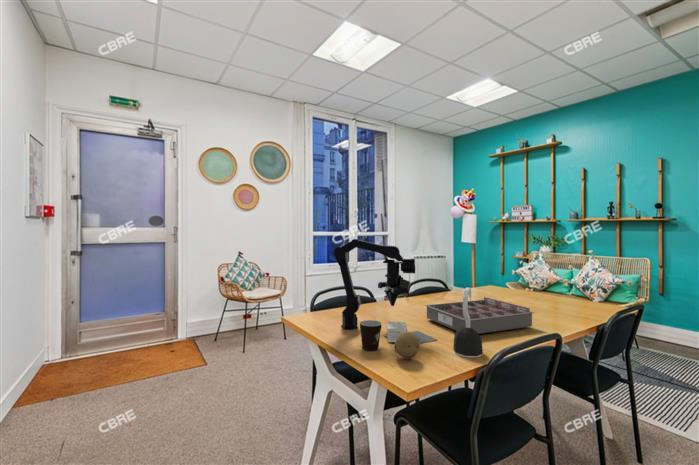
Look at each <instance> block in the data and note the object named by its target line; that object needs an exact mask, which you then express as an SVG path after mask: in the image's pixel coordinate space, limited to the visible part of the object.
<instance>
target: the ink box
mask: <svg viewBox="0 0 699 465" xmlns="http://www.w3.org/2000/svg"><path fill="white" fill-rule="evenodd" d="M403 332H408V327H407V324H406V322H405V321H386V336H387V338H386V339H387V342H388V343H395V342H396V340H397V338H398V337H399V335H400V334H401V333H403Z"/></svg>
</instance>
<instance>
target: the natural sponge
mask: <svg viewBox="0 0 699 465" xmlns="http://www.w3.org/2000/svg"><path fill="white" fill-rule="evenodd" d="M411 332H412V331H407V332H403V333H401V334H400V335H399V337H398V338H397V340H396V342H394V345H393V348H394V351H395V353H397V355H399V356H400V357H401V358H403V359H405V360H410V359H412V358H414V357H415V356H416V355H417V354H418V352H419V351H420V349H421V348H420V347H421V343H419V340H418V338H417V336H416V335H415V334H413V333H411Z"/></svg>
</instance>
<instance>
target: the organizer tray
mask: <svg viewBox="0 0 699 465" xmlns="http://www.w3.org/2000/svg"><path fill="white" fill-rule="evenodd" d="M424 306H425V307H426V319H428V320H431V321H433V322H435V323H437V324H440V325H442V326H443V327H447V328H449V329H452V330H455V331H456V332H457V330H459V329H461V328H463V327H466V320H465V318H464V315H463V301H459V302H458V301H456V302H447V303H446V302H445V303H444V302H443V303H434V304H426V305H424ZM468 314H469V316H470V327H471V328H473V329H475V330H476V331H477V332H478V334H479V335H480V334H485V333H495V332H500V331H507V330H514V329H515V330H516V329H522V328H523V329H524V328H528V327H529V328H530V327H533V314H535V312H534V311H531V308H530V307H526V306H522V305H520V304H519V305H518V304H515V303H512V302H506V301H503V300H500V299H499V300H498V299H494V298H490V297H488V296H483V299H477V300H468Z"/></svg>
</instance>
